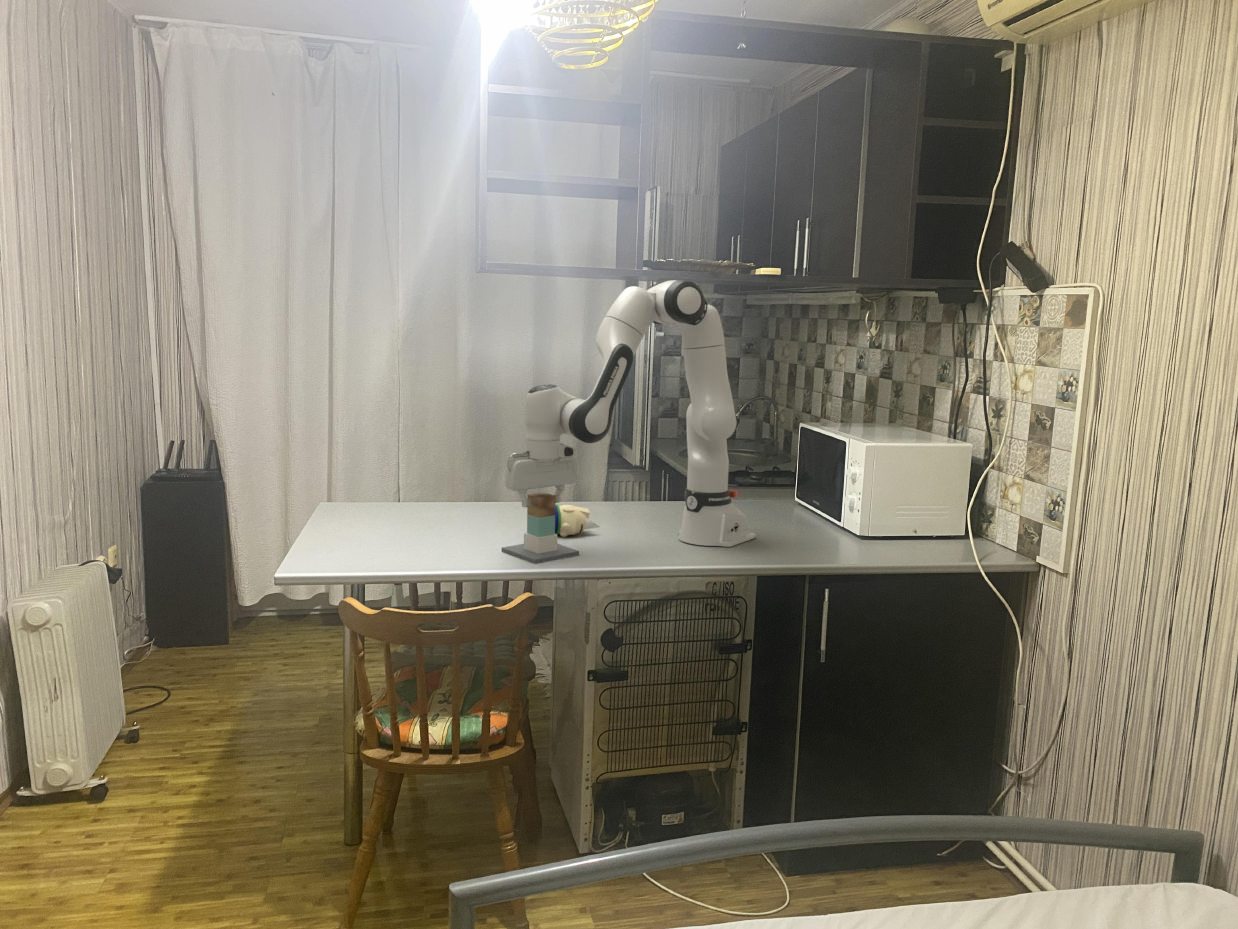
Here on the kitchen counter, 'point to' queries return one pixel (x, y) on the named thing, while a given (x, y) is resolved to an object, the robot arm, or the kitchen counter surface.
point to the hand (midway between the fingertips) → (541, 504)
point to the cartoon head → (572, 520)
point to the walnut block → (541, 505)
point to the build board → (540, 556)
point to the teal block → (541, 525)
